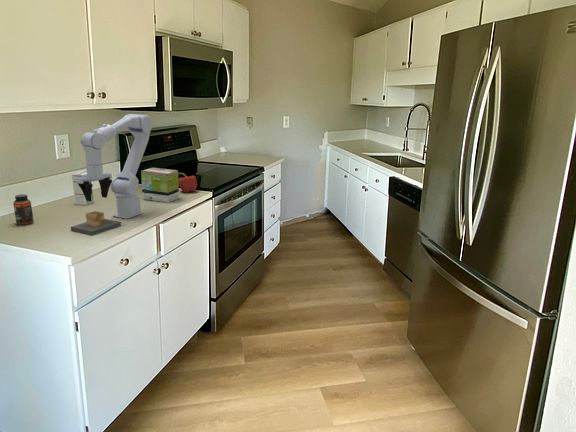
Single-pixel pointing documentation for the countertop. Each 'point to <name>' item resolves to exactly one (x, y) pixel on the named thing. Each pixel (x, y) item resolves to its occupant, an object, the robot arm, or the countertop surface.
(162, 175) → the tea box
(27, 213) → the supplement bottle
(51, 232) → the countertop surface
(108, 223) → the charcoal mat
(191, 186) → the vegetable
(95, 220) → the oak cube
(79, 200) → the syrup box
